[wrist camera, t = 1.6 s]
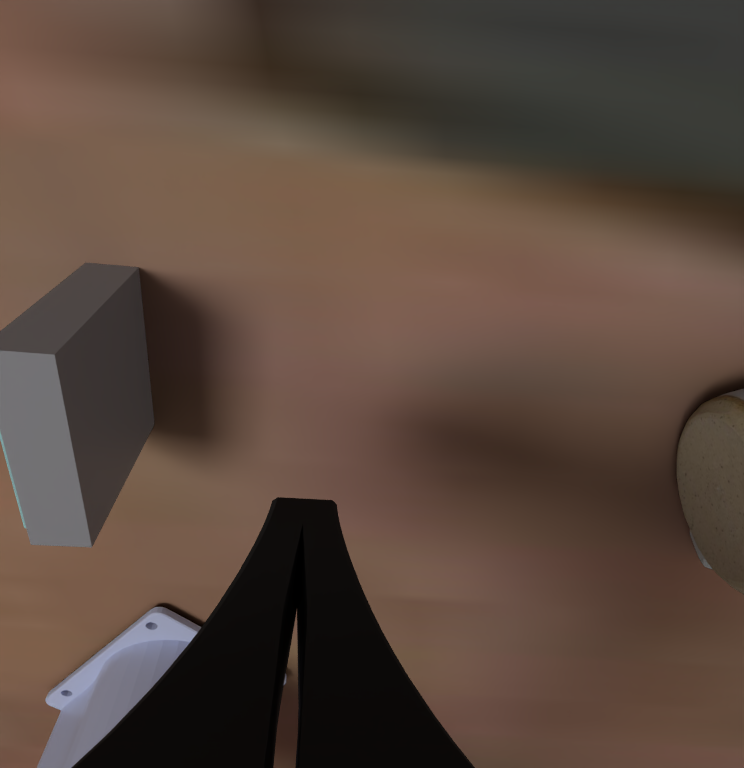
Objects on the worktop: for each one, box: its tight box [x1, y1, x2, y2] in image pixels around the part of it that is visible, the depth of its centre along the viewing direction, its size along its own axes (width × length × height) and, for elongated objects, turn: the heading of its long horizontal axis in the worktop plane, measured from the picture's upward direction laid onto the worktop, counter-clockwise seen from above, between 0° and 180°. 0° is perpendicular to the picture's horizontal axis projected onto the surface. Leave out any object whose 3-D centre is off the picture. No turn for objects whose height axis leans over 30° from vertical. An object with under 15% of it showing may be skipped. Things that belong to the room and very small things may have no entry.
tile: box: [0, 263, 154, 547], centre depth 16 cm, size 2×6×6 cm, turn 174°
